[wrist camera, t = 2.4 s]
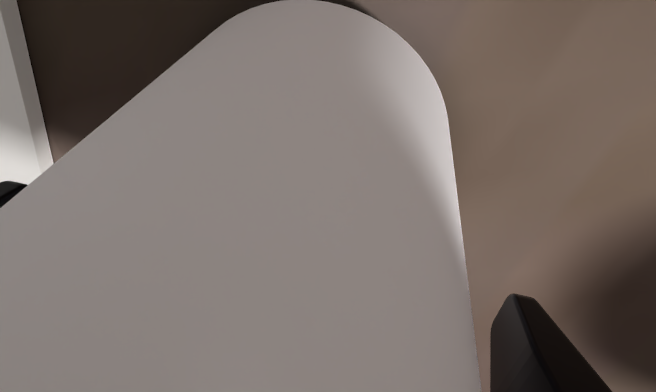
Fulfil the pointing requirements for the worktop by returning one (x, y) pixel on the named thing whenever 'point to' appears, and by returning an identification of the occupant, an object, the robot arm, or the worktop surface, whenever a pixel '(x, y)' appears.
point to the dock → (19, 105)
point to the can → (250, 226)
